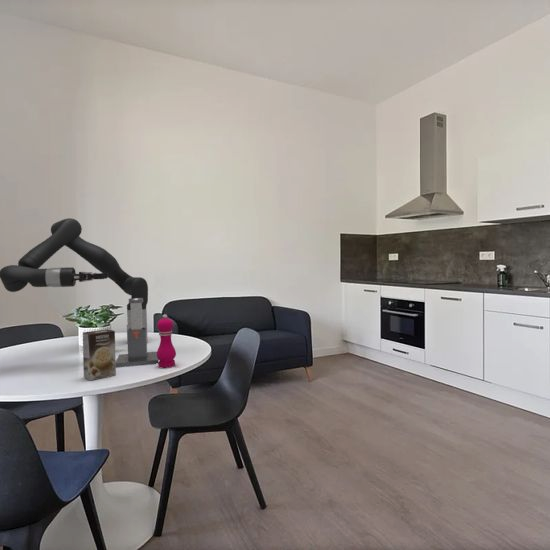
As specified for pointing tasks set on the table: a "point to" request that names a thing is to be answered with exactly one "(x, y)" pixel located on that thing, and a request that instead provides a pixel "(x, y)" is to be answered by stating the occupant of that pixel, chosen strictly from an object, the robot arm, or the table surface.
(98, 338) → the coffee box
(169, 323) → the pepper mill
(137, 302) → the post
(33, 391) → the table surface
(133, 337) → the stand
